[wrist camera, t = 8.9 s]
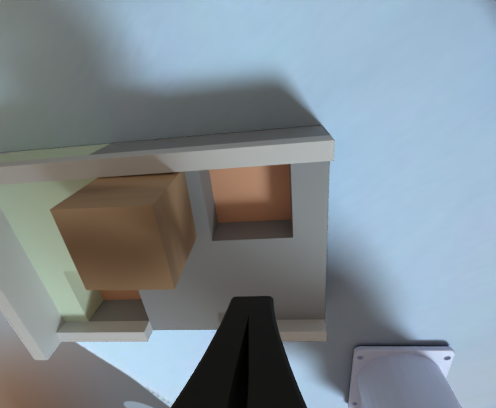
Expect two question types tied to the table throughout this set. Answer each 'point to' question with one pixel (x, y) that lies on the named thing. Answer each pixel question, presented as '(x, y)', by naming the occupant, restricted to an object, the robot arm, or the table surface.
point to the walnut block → (129, 231)
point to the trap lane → (203, 251)
